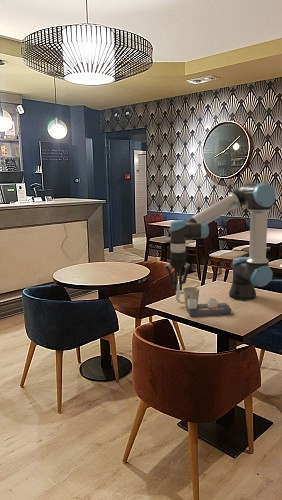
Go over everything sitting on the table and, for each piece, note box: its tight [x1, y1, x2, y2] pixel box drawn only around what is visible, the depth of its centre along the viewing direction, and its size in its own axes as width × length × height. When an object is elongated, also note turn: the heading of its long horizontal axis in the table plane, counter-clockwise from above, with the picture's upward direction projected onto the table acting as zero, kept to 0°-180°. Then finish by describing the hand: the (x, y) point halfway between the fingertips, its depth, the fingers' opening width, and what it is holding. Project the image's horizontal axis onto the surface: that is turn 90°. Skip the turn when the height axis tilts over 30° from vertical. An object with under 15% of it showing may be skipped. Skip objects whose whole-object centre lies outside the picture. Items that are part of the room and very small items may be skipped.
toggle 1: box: [188, 299, 197, 309], centre depth 202 cm, size 4×4×4 cm
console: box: [186, 302, 232, 318], centre depth 203 cm, size 21×10×3 cm, turn 94°
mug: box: [175, 286, 200, 309], centre depth 212 cm, size 8×13×10 cm, turn 78°
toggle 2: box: [207, 297, 218, 308], centre depth 203 cm, size 4×4×4 cm
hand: (177, 296), depth 201 cm, fingers closed
